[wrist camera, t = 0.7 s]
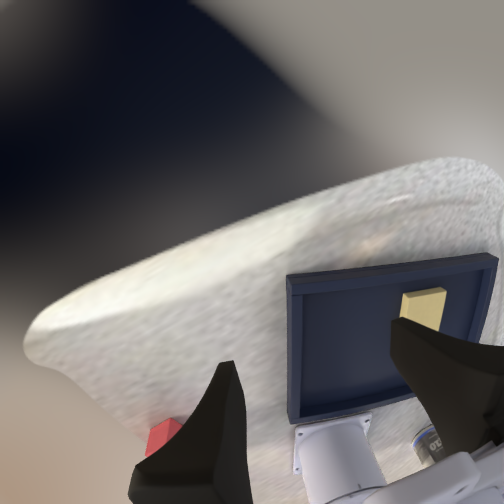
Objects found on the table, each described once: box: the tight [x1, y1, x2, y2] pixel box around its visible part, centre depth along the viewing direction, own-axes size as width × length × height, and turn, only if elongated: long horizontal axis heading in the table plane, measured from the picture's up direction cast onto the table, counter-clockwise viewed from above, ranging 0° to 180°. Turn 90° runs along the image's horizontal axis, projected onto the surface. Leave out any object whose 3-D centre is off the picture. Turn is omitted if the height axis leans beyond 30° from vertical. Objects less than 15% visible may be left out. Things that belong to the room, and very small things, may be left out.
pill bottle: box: [412, 425, 447, 469], centre depth 26 cm, size 5×5×8 cm
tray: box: [286, 252, 499, 424], centre depth 23 cm, size 14×20×2 cm
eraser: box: [145, 418, 182, 457], centre depth 24 cm, size 6×3×4 cm, turn 41°
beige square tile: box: [399, 287, 447, 331], centre depth 22 cm, size 4×4×1 cm
